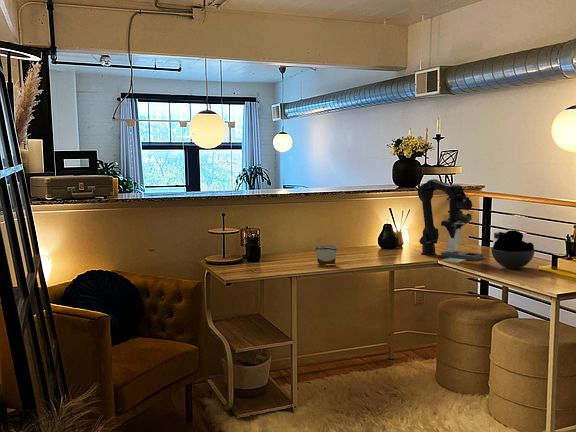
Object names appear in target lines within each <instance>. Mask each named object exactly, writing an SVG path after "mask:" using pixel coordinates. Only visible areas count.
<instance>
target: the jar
mask: <svg viewBox="0 0 576 432" xmlns="http://www.w3.org/2000/svg"><path fill="white" fill-rule="evenodd" d="M499 232H500V231H498V232H494V233H493V239H492V241H493V242H492V247H493V246H494V242H495V241H497V239H498V238H499V237H500V236H499ZM501 232H502V233H503V234H504V233H506V232H503V231H501Z"/></svg>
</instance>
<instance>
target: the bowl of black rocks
mask: <svg viewBox="0 0 576 432" xmlns="http://www.w3.org/2000/svg"><path fill="white" fill-rule="evenodd" d="M498 232H499V236H500V237H499V238H498V239H497V241H495V242H494V246H493V245H492V247H490V251H491V255H492V258H494V260H495V262H496V263H497V264H499V265H500V266H501V267H503V268H506V269H510V270H516V269H521V268H523V267H525V266H527V265H528V264H529V263H530V262H531V261H532V260H533V258H534V255H535V251H536V249H535V247H534V246H535V245H534V243H532V242H531V241H530V242H525V241H524V240H523V238H524V234H523V232H521V231H520V230H516V229H511V230H508V231H506V232H505V233H504V234H503V233H502V232H503V231H498Z"/></svg>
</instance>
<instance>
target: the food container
mask: <svg viewBox="0 0 576 432" xmlns="http://www.w3.org/2000/svg"><path fill="white" fill-rule="evenodd" d="M314 251H315V252H316V260H317V264H318V263H319V264H335V265H336V258H337V252H338V247H337V246H336V245H332V244H331V245H330V244H329V245H328V244H327V245H326V244H325V245H317V246H315V248H314Z"/></svg>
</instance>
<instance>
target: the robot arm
mask: <svg viewBox="0 0 576 432" xmlns="http://www.w3.org/2000/svg"><path fill="white" fill-rule="evenodd" d="M436 190H439V191H442V192H445V195H447V196H448V197H447V198H446V200H447V201H449V202H448V203H449V208H448V209H449V210H447V213H448V216H449V218H447V219H445V220H441V221H440V226H441V227H445V229H446V230H447V232H448V235H449V234H450V236H451V238H454V231H455V228H461V229H462V228H463V227H464V226H465V225H466V224H470V222H471V221H472V220H473V217H472V214H471V213H467V214H464V213H463V211H470V210H471V209H472V208H473V203H472V200H471V199H470V197H469V196H467V195H466V193H465V191H464V189H463V187H462V186H461V185H459V184H449V183H446V182H443V181H440V180H438V179H435V178H434V179H428V180H427V181H426V182H425V183H422V184H421V185H420V186H419V187H418V189H417V196H418V198H419V199H420V201H421V205H422V213H423V222H424V228H423V230H422V235H421V237H420V239H419V244H420V245H422V246H421V247H422V248H421V249H422V252H421V253H420V255H424V256H434V255H437V253H436V244H438V240H439V236H440V234H439V229H438V228H437V227H436V226H435V224H434V215H433V209H432V208H433V207H432V199H433V198H434V193H435V191H436Z"/></svg>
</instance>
